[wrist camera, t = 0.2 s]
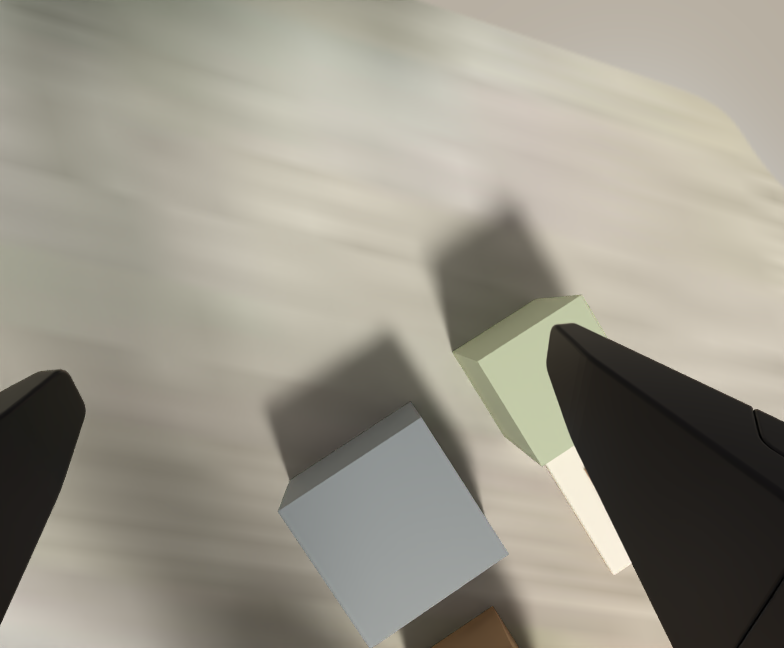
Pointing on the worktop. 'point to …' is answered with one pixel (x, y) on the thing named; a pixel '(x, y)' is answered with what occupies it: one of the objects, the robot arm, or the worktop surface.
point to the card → (588, 508)
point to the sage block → (525, 373)
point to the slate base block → (389, 525)
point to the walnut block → (480, 633)
